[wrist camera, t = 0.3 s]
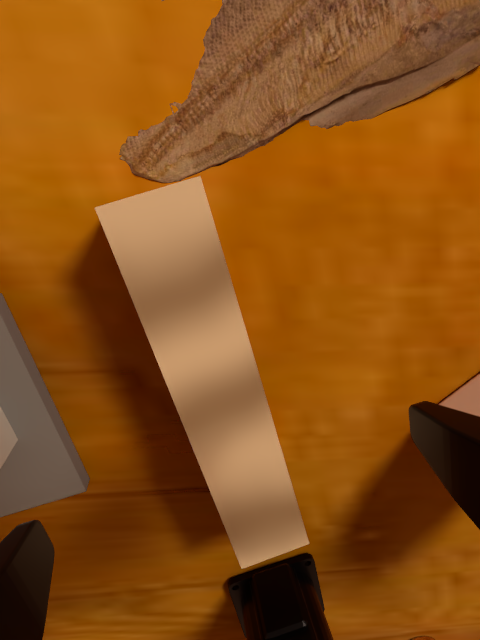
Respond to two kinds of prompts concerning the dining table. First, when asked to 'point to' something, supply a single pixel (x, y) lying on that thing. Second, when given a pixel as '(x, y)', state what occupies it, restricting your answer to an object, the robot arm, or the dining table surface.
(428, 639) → the cup with straw
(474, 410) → the jar
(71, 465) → the fulcrum
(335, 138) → the dining table surface
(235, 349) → the beech bar
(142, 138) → the fish fossil
